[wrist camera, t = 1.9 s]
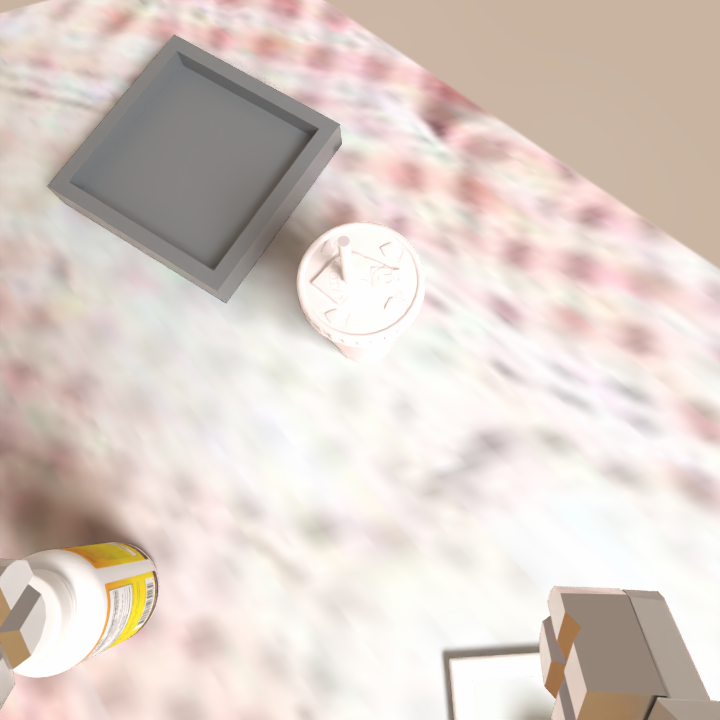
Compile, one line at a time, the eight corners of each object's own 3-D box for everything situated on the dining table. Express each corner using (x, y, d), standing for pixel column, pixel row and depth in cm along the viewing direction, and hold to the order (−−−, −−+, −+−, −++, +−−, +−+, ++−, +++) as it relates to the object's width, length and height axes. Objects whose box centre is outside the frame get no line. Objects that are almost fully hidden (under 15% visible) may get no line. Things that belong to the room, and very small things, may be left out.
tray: (64, 202, 42) (47, 186, 40) (184, 57, 45) (174, 34, 42) (226, 303, 40) (217, 291, 37) (341, 143, 42) (339, 124, 40)
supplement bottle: (56, 569, 36) (-69, 591, 26) (141, 524, 36) (51, 528, 26) (90, 660, 34) (-27, 720, 25) (178, 612, 35) (98, 651, 25)
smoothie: (313, 293, 40) (278, 177, 26) (410, 285, 39) (426, 166, 26) (318, 388, 38) (283, 318, 24) (419, 380, 38) (441, 306, 24)
